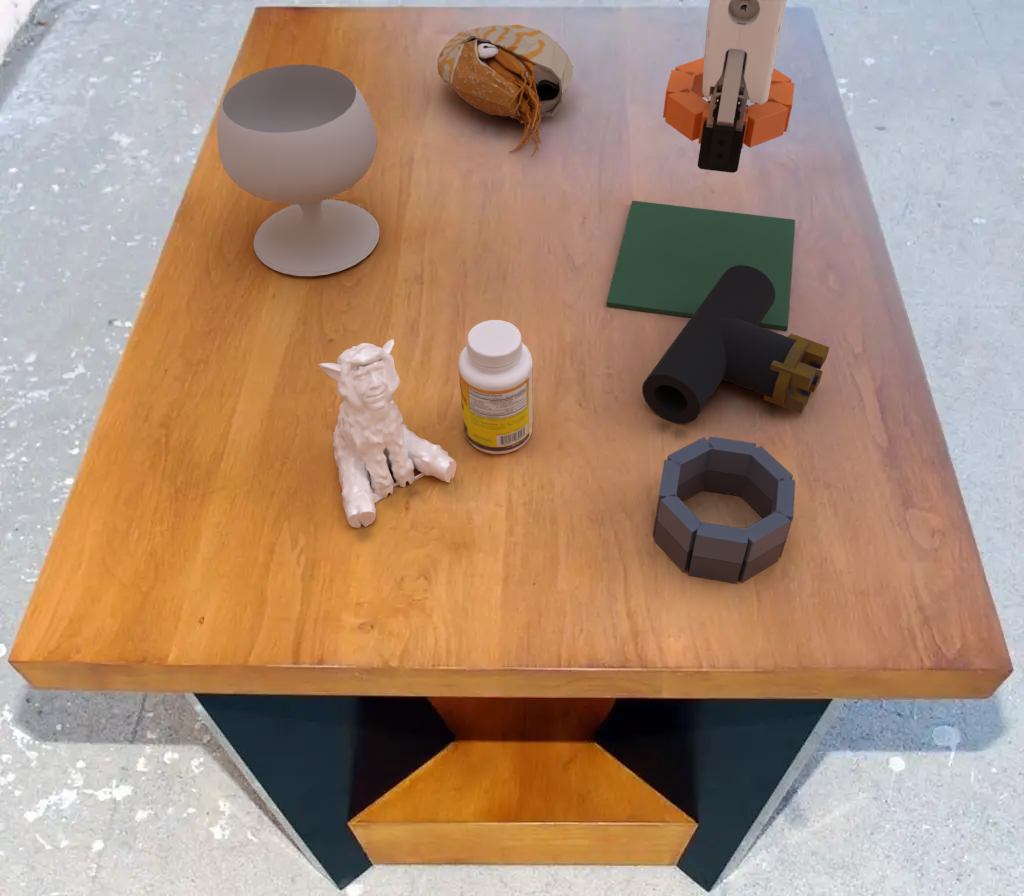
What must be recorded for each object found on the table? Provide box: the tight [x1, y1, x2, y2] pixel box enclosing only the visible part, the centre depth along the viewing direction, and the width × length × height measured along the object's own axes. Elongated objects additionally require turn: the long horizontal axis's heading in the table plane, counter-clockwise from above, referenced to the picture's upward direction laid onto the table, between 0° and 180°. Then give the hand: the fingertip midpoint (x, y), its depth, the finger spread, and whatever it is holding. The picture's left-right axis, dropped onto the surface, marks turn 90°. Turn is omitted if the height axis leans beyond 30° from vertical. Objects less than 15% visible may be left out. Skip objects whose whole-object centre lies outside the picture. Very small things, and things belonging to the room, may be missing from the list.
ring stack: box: [652, 436, 796, 584], centre depth 72 cm, size 9×9×5 cm
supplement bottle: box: [457, 319, 534, 455], centre depth 77 cm, size 6×6×10 cm
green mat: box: [605, 200, 796, 331], centre depth 94 cm, size 16×16×1 cm
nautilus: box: [436, 24, 574, 158], centre depth 110 cm, size 8×22×15 cm
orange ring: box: [662, 57, 795, 149], centre depth 82 cm, size 10×10×2 cm
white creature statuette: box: [317, 338, 458, 529], centre depth 74 cm, size 10×9×12 cm
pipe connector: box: [641, 265, 830, 425], centre depth 82 cm, size 12×5×15 cm
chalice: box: [216, 64, 381, 277], centre depth 92 cm, size 14×14×15 cm
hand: (719, 157), depth 82 cm, fingers closed on orange ring, 2 cm apart
